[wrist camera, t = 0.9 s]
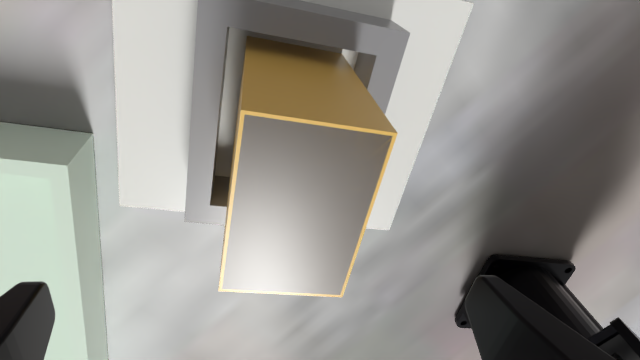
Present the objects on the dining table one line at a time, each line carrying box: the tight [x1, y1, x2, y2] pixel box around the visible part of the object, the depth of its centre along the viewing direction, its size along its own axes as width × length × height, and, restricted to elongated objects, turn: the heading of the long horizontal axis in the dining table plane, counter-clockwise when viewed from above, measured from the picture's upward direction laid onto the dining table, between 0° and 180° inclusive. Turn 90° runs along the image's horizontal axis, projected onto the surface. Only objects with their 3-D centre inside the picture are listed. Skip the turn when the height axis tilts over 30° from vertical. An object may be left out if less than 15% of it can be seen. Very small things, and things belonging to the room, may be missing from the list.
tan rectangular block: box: [218, 36, 398, 297], centre depth 15 cm, size 4×6×8 cm, turn 168°
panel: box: [112, 0, 474, 230], centre depth 18 cm, size 14×12×4 cm
